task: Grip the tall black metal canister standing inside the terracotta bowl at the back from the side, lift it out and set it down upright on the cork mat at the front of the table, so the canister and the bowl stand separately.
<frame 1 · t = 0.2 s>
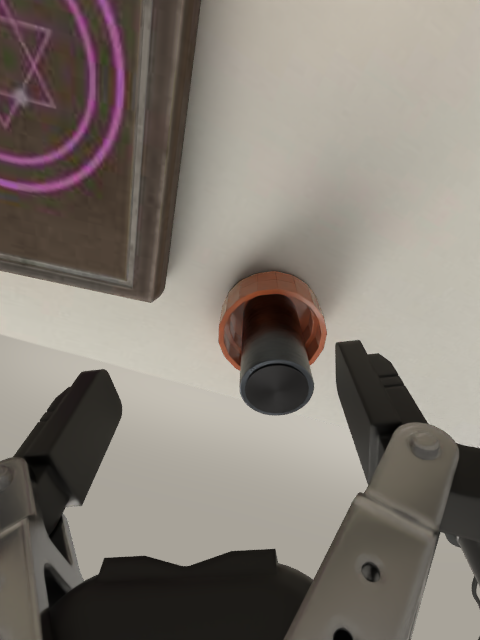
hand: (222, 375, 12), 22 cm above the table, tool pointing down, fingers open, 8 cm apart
terracotta bowl: (269, 314, 35), on the table
book: (45, 66, 25), on the table
black metal canister: (270, 316, 35), resting on terracotta bowl
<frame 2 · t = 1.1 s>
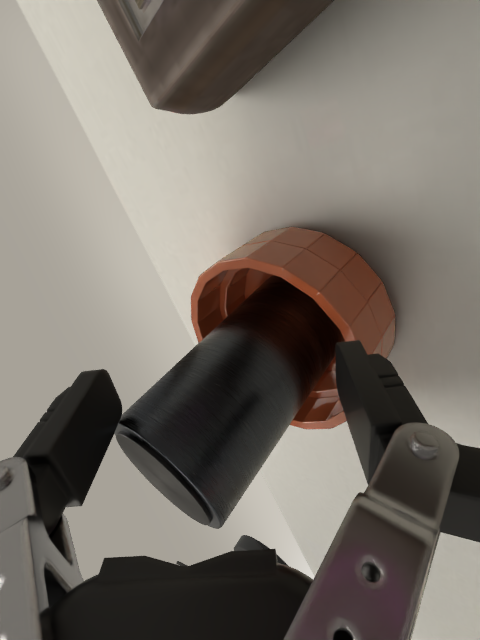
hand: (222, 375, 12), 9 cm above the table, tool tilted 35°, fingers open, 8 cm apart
terracotta bowl: (306, 308, 20), on the table
black metal canister: (301, 314, 19), point 1 cm above the table, touching terracotta bowl
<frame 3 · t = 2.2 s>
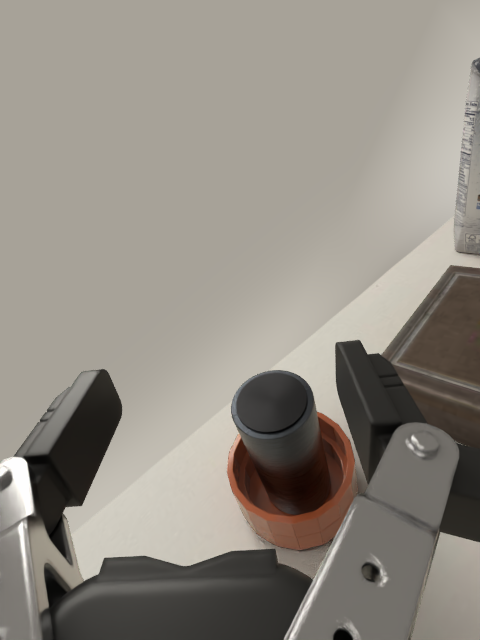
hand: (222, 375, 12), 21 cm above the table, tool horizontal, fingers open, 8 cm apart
terracotta bowl: (296, 487, 29), on the table
black metal canister: (297, 480, 29), point 1 cm above the table, touching terracotta bowl
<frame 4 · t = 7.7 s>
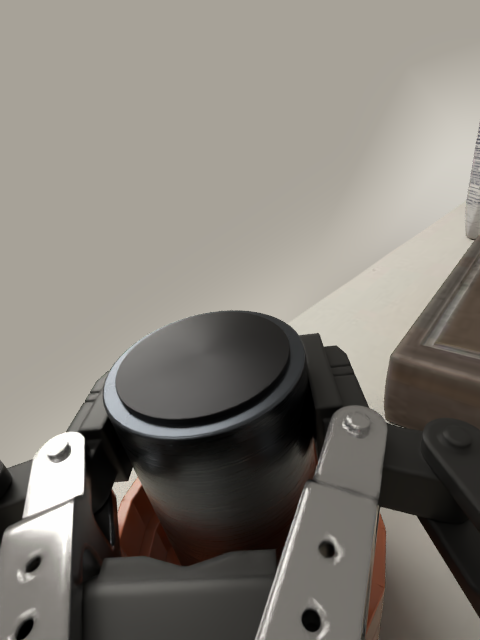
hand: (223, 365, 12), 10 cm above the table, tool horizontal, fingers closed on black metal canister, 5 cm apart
terracotta bowl: (256, 572, 15), on the table
black metal canister: (258, 561, 15), point 1 cm above the table, touching gripper, terracotta bowl
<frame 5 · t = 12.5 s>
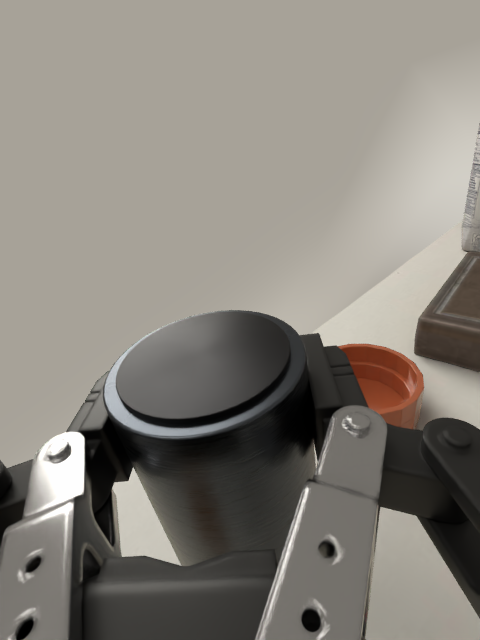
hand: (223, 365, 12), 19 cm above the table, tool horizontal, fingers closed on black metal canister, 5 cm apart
terracotta bowl: (362, 408, 34), on the table
black metal canister: (258, 560, 15), point 10 cm above the table, touching gripper
when the fingers open (10 cm above the table, at t = 17.7 s): black metal canister stays where it is, resting on cork mat.
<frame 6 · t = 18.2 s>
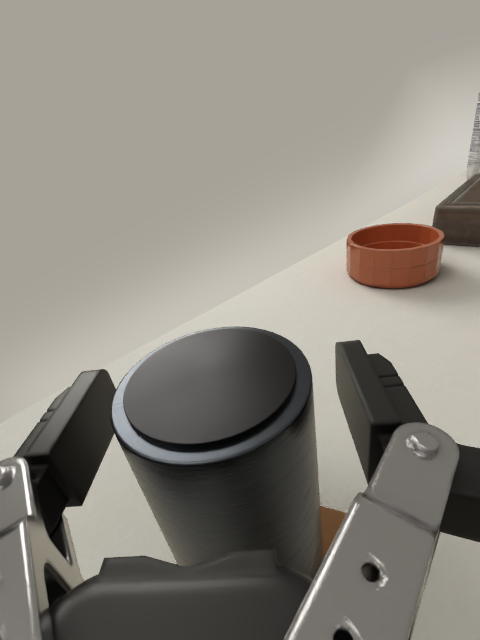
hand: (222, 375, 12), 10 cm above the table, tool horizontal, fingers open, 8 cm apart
terracotta bowl: (390, 272, 40), on the table
black metal canister: (259, 571, 15), point 1 cm above the table, touching cork mat
cork mat: (260, 580, 15), on the table
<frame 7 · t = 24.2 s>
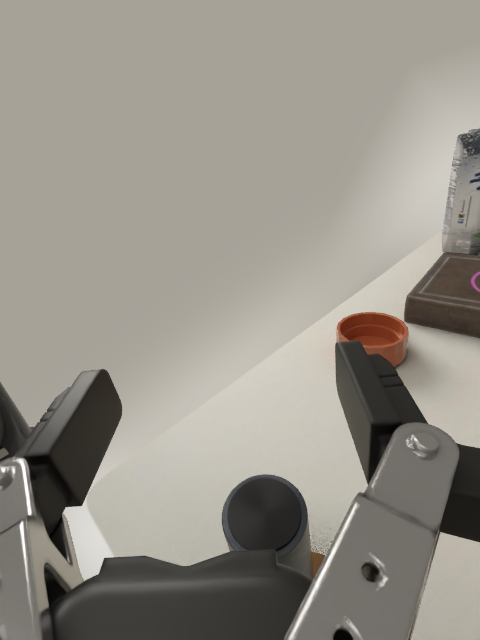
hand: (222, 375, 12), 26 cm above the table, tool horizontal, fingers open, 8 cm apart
terracotta bowl: (370, 352, 53), on the table
black metal canister: (279, 591, 27), point 1 cm above the table, touching cork mat
juice carton: (463, 249, 82), on the table
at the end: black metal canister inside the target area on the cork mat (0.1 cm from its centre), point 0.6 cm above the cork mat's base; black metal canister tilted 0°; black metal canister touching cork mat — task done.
